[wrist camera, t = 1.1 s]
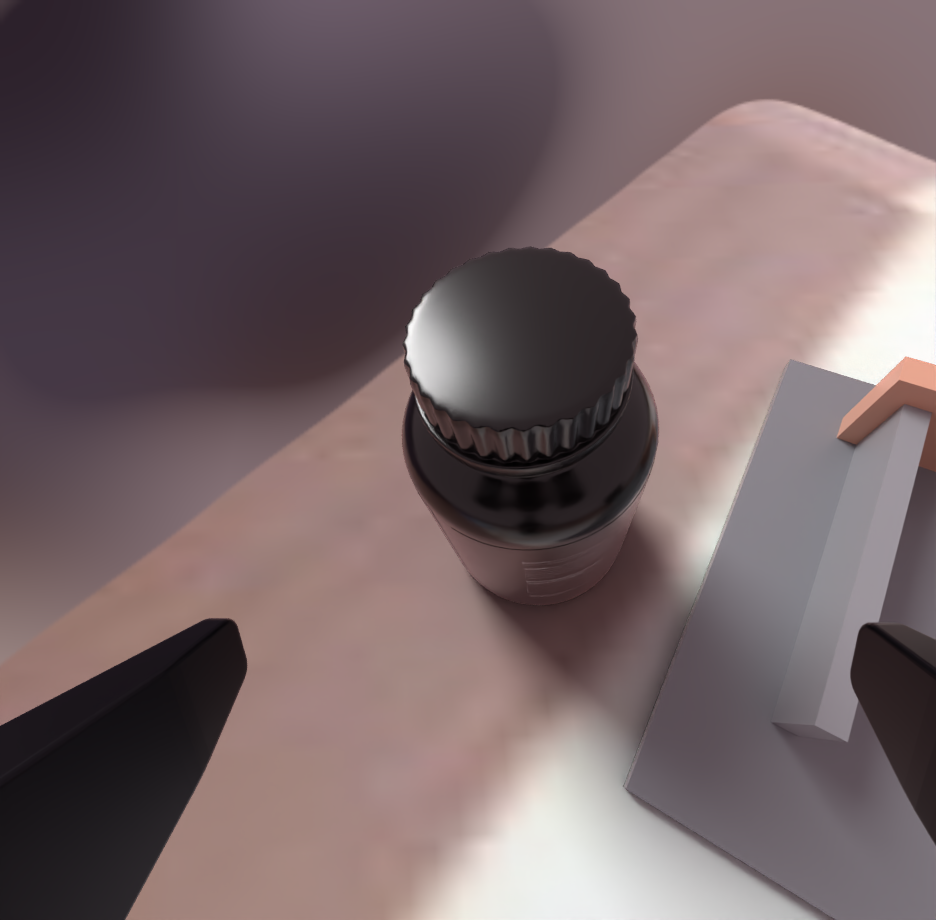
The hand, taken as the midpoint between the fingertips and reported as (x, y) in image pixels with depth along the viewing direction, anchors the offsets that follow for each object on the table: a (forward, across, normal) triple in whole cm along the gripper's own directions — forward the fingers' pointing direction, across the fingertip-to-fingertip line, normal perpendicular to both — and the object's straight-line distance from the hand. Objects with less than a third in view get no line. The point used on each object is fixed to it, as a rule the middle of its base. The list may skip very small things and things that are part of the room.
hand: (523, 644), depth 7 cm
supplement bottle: (+13, 0, +5) cm, 14 cm away
